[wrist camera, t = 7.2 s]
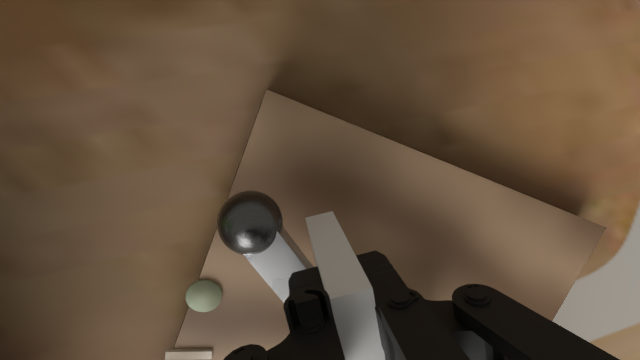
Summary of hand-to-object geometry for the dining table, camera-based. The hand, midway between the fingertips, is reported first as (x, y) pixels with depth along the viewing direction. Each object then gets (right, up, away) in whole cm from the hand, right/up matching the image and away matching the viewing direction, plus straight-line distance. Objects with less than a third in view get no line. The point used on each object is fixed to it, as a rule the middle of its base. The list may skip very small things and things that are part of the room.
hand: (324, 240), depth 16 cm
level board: (+3, -7, +6) cm, 10 cm away
